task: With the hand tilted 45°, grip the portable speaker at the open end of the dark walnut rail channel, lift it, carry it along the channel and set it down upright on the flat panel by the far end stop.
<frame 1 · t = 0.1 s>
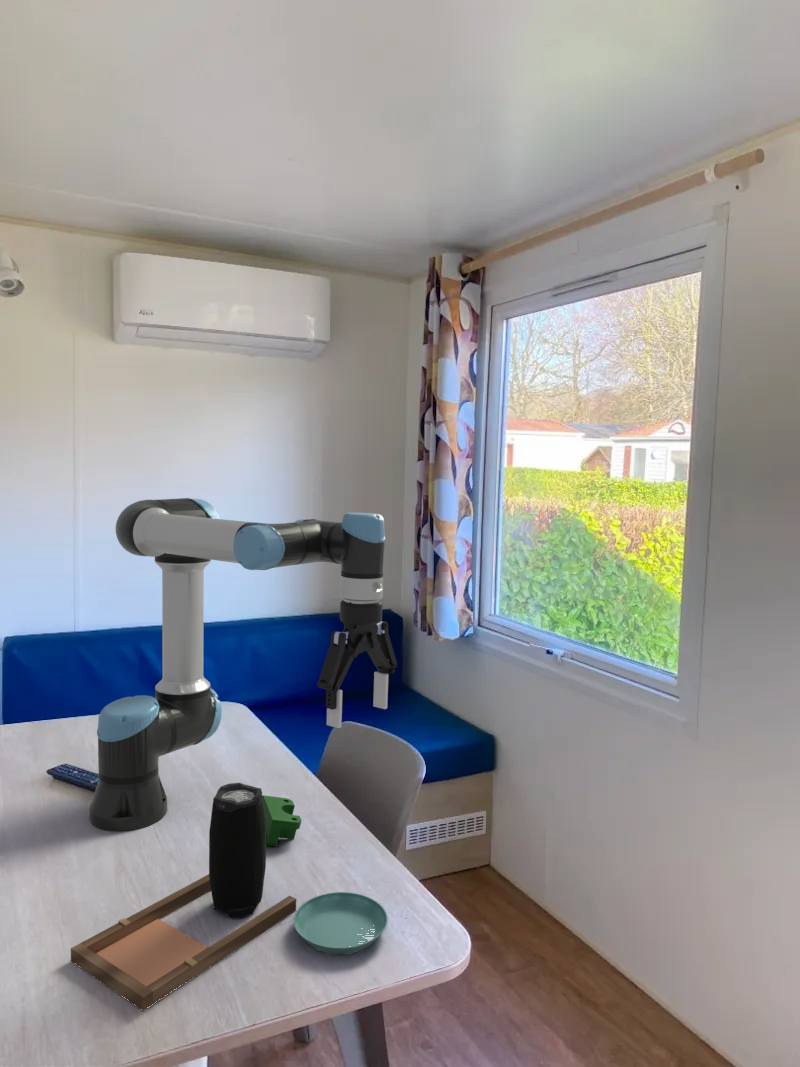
hand: (358, 716, 139), 28 cm above the table, tool pointing down, fingers open, 13 cm apart
rail track: (194, 931, 120), on the table
clamp: (278, 835, 152), on the table
portable speaker: (237, 907, 128), on the table
flat panel: (156, 954, 115), on the table
saucer: (340, 934, 121), on the table
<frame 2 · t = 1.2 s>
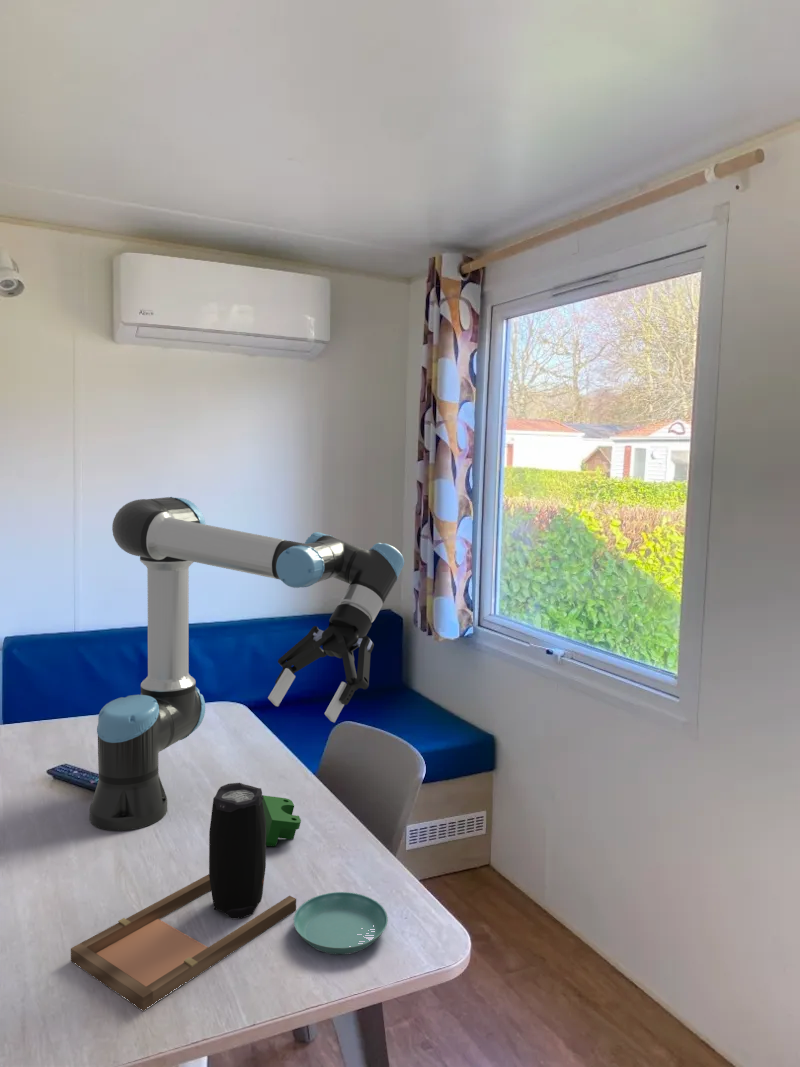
hand: (300, 710, 136), 30 cm above the table, tool tilted 45°, fingers open, 13 cm apart
nothing on the table moved.
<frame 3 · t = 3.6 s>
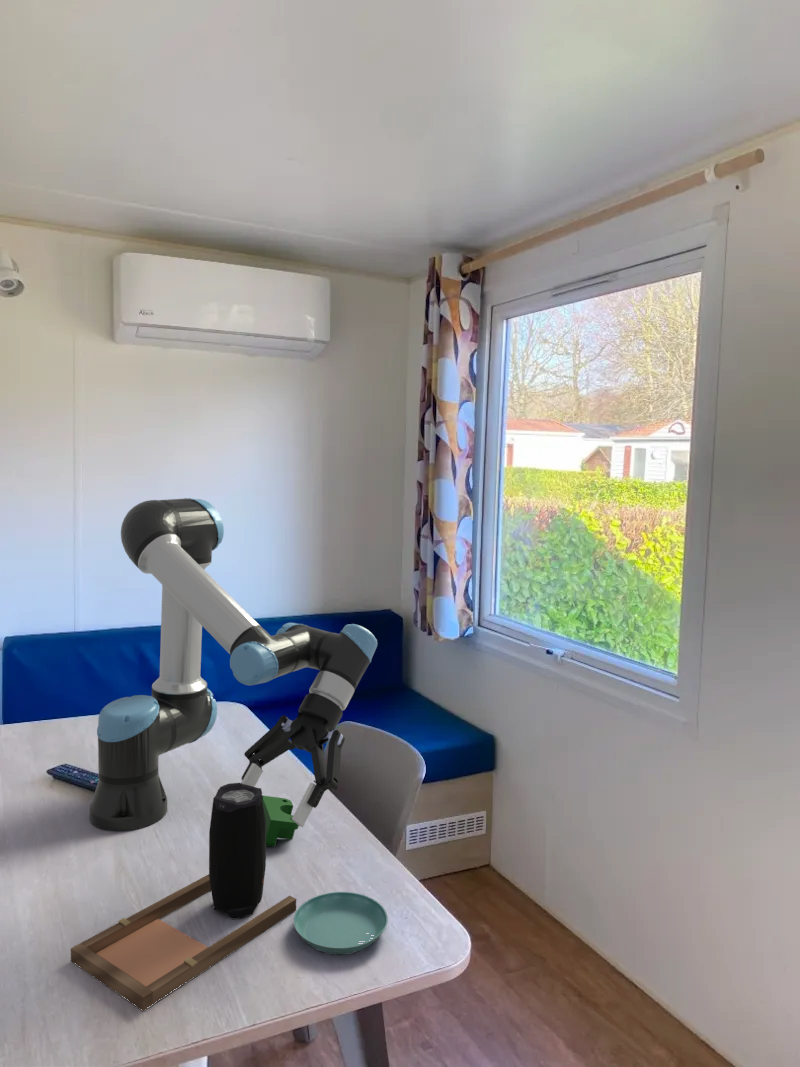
hand: (266, 812, 130), 15 cm above the table, tool tilted 45°, fingers open, 13 cm apart
nothing on the table moved.
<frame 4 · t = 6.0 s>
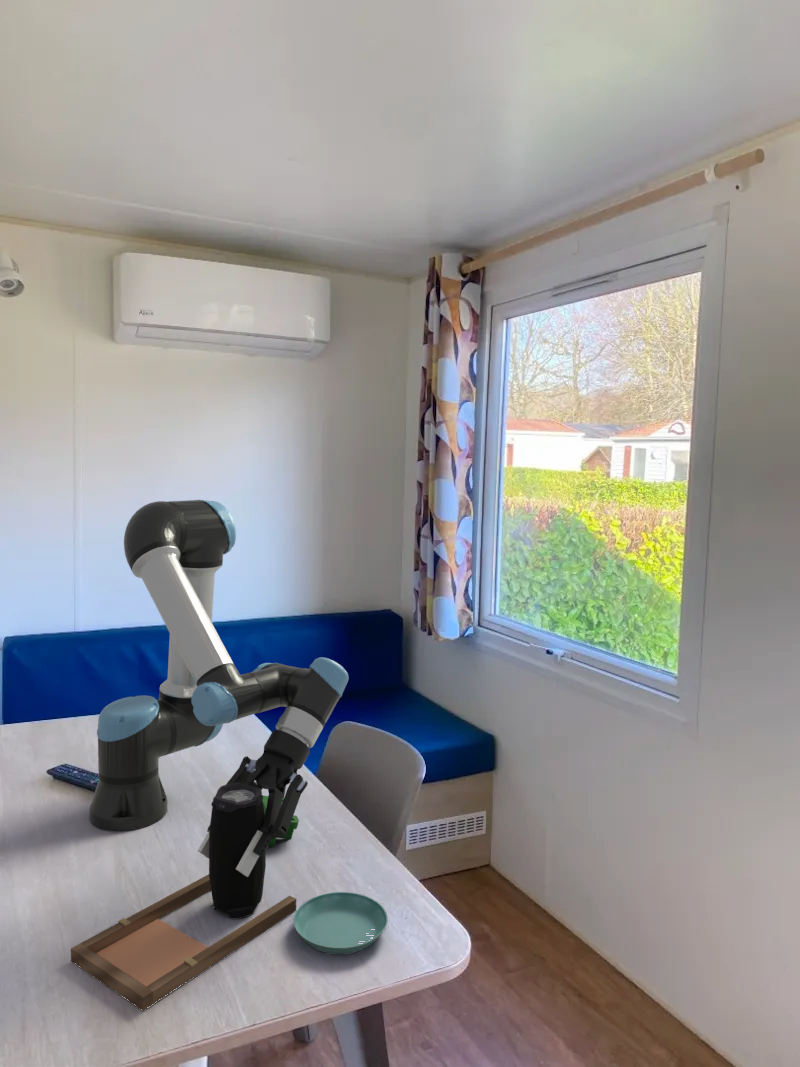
hand: (222, 863, 124), 9 cm above the table, tool tilted 45°, fingers closed on portable speaker, 8 cm apart
portable speaker: (237, 907, 128), on the table, touching gripper
everything else where it was.
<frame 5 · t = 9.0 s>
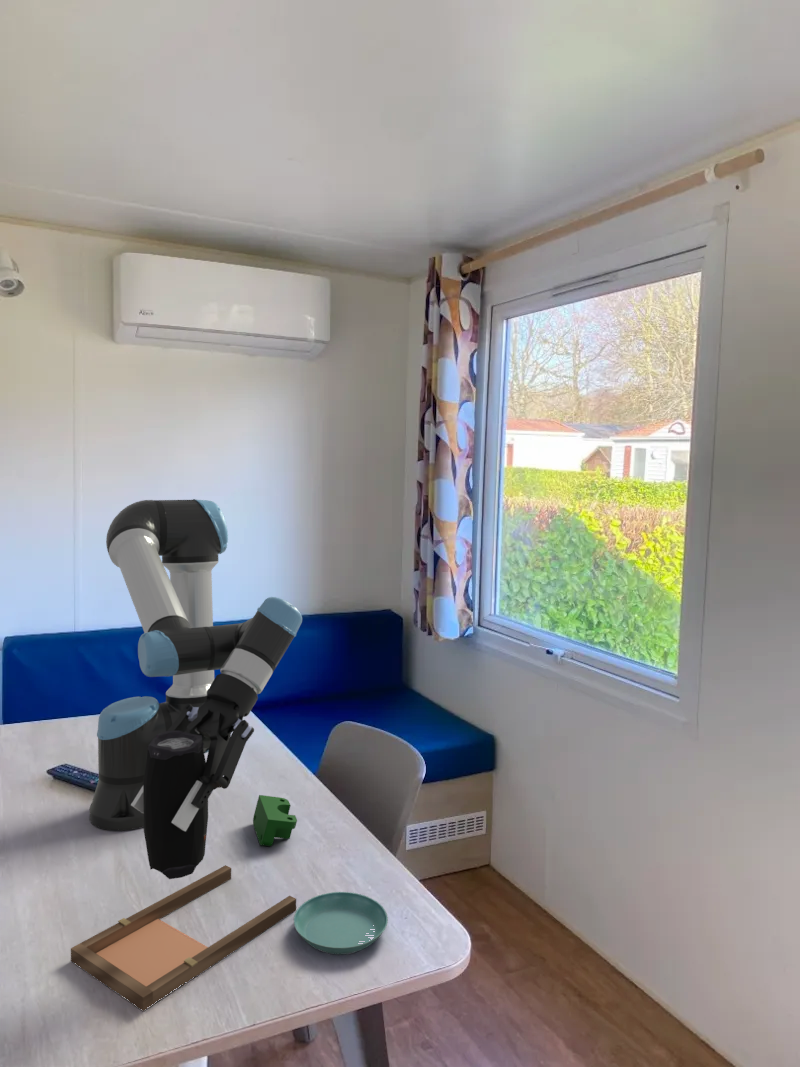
hand: (157, 818, 112), 22 cm above the table, tool tilted 45°, fingers closed on portable speaker, 8 cm apart
portable speaker: (176, 866, 115), point 13 cm above the table, touching gripper
everything else where it was.
when the fingers open (11 cm above the table, at t = 12.4 s): portable speaker drops 1 cm, resting on flat panel.
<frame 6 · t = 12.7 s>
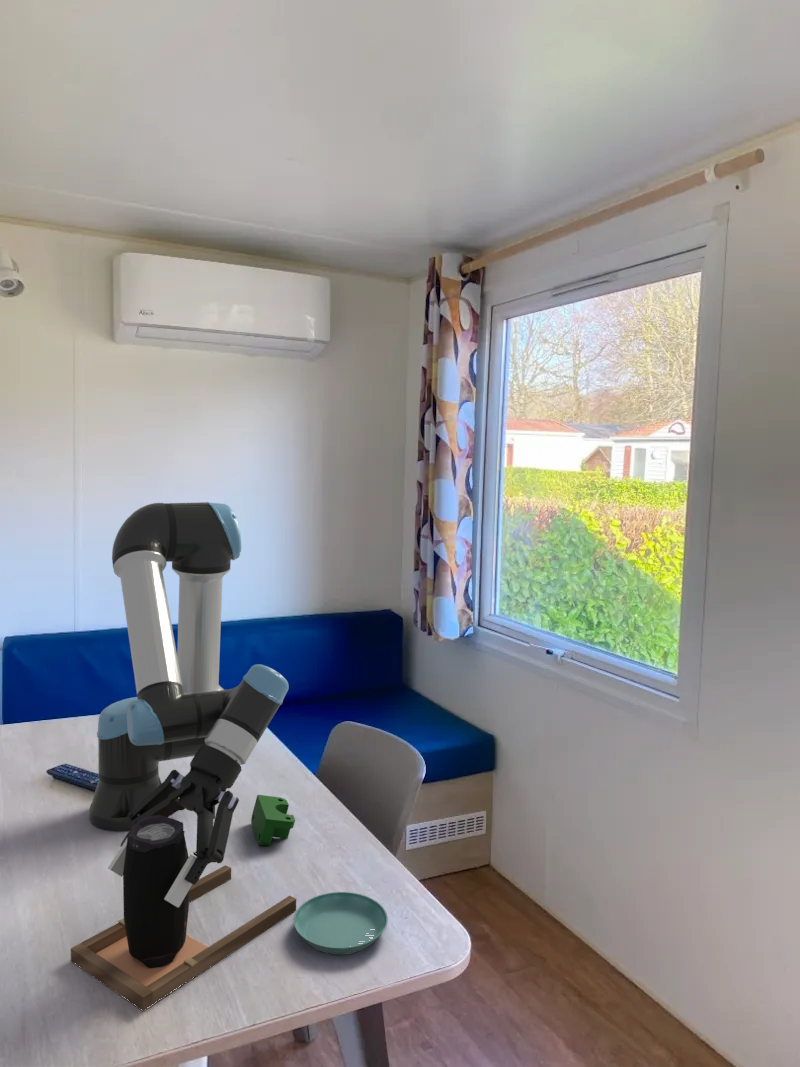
hand: (141, 887, 111), 12 cm above the table, tool tilted 45°, fingers open, 12 cm apart
portable speaker: (157, 952, 115), resting on flat panel
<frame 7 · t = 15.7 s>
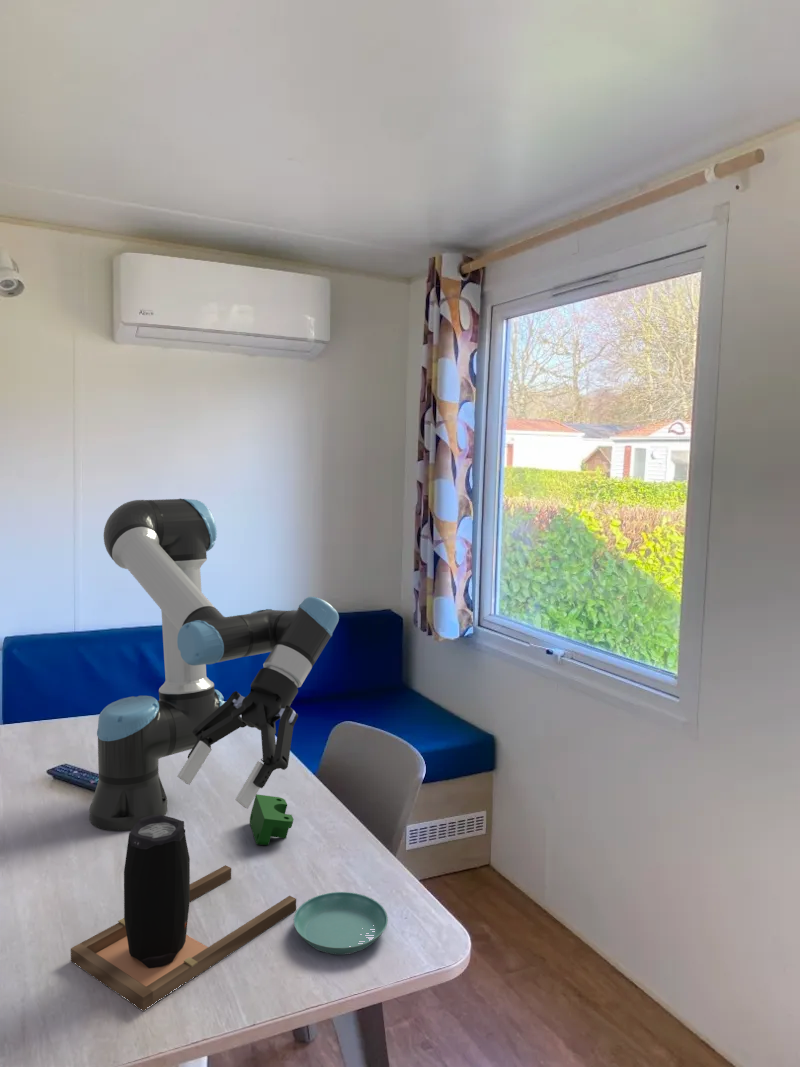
hand: (211, 792, 121), 21 cm above the table, tool tilted 45°, fingers open, 13 cm apart
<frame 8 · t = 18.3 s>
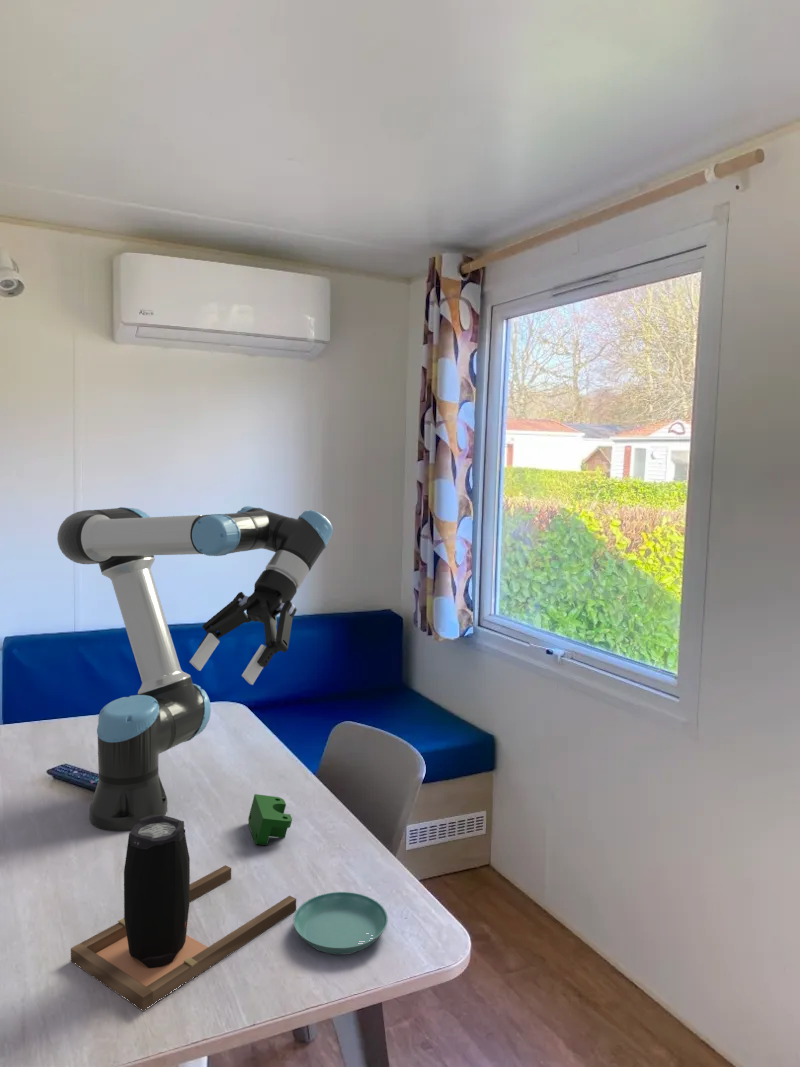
hand: (220, 673, 137), 36 cm above the table, tool tilted 45°, fingers open, 13 cm apart
at the end: portable speaker 0.2 cm from the target spot, resting on flat panel; portable speaker tilted 0°; the gripper is holding nothing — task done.
